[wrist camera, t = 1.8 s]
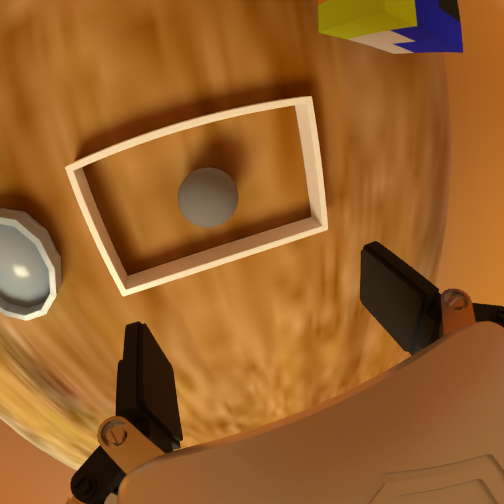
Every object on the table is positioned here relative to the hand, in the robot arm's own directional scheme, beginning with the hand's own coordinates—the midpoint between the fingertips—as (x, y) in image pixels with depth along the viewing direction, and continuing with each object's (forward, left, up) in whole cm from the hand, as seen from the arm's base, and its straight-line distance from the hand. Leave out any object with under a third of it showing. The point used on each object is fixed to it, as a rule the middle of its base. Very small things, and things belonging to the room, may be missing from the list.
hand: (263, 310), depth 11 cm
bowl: (0, -22, -17) cm, 28 cm away
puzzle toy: (-17, +20, -17) cm, 32 cm away
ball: (0, 0, -17) cm, 17 cm away
